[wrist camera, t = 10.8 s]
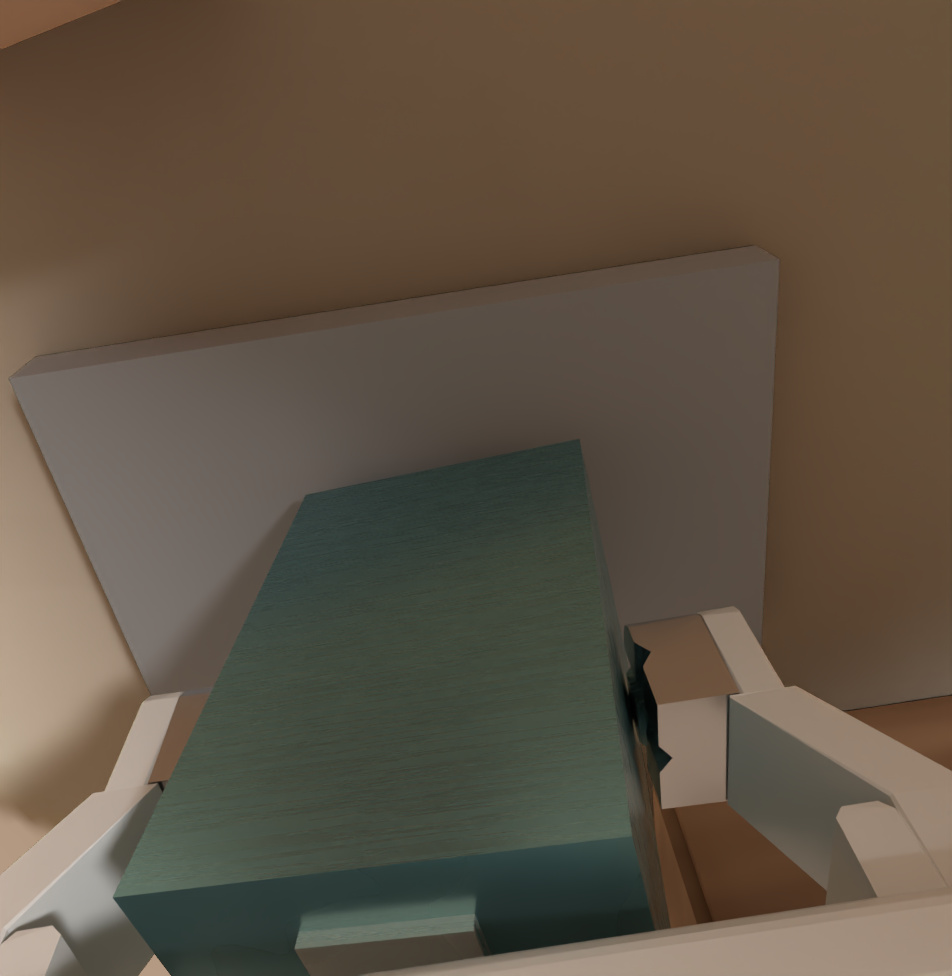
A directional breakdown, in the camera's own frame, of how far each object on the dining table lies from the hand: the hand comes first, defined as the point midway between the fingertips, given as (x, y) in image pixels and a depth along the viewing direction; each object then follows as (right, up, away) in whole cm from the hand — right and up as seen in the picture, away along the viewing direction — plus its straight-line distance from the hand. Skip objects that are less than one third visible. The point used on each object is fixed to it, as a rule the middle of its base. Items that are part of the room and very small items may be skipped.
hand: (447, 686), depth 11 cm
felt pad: (0, +2, +4) cm, 5 cm away
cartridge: (0, +1, +3) cm, 3 cm away
